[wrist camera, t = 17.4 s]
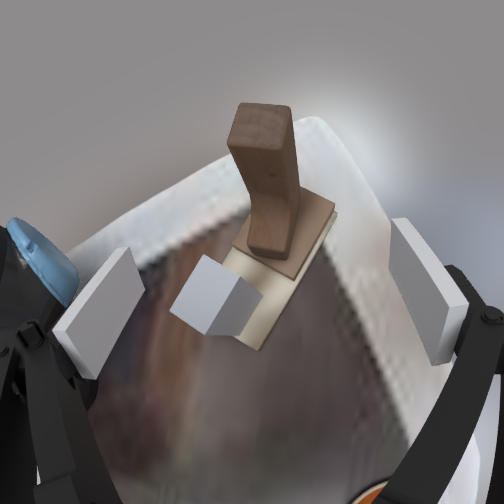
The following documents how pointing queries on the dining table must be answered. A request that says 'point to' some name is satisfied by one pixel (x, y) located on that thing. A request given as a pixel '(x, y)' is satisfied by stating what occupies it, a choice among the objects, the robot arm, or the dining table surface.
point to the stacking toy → (370, 494)
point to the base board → (268, 290)
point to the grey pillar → (216, 300)
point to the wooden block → (267, 175)
